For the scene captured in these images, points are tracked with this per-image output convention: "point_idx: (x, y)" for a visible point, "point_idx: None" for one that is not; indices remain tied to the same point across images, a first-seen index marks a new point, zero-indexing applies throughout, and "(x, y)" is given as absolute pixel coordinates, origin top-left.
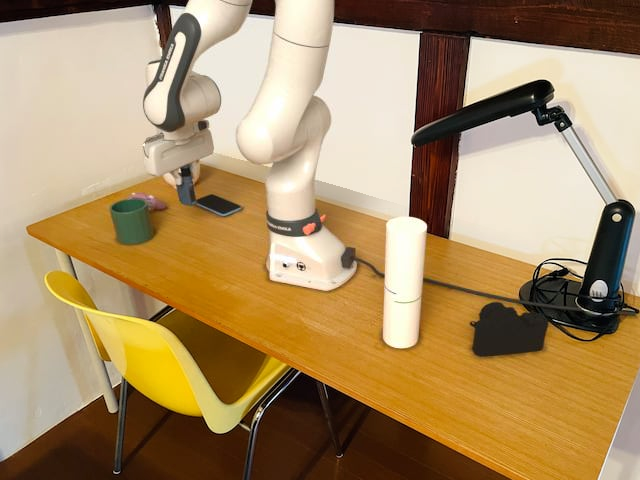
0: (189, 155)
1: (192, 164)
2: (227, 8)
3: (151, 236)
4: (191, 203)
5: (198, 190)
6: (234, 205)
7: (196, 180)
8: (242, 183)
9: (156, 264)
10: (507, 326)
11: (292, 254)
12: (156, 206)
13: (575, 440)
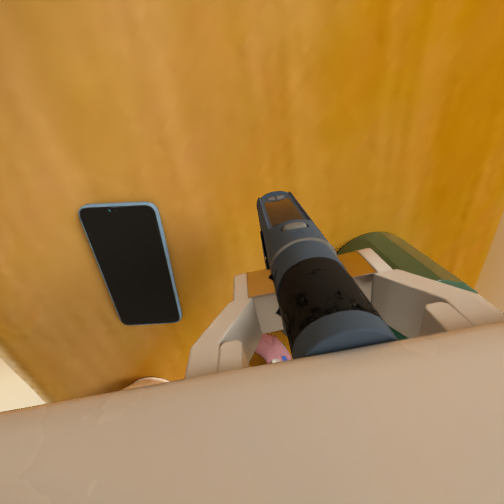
0: (315, 500)
1: (239, 353)
2: None
3: (358, 238)
4: (289, 197)
5: (139, 358)
6: (96, 231)
7: (126, 387)
8: (23, 331)
9: (465, 89)
10: None
11: None
12: (271, 336)
13: None
